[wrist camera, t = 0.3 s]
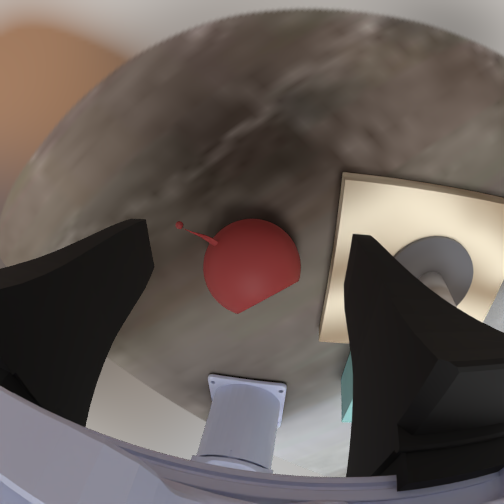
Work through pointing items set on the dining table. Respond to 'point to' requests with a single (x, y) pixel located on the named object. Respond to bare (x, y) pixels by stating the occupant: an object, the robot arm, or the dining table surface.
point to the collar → (347, 391)
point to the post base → (419, 241)
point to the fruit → (249, 263)
